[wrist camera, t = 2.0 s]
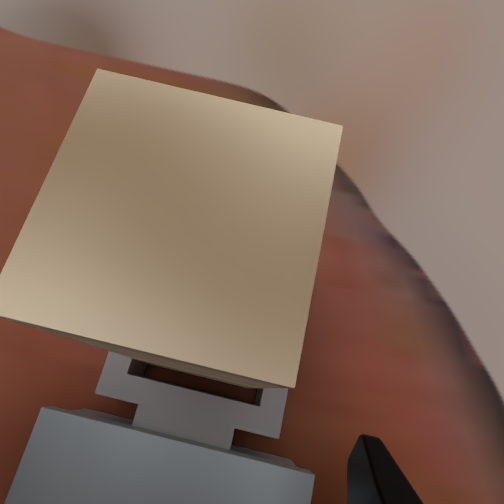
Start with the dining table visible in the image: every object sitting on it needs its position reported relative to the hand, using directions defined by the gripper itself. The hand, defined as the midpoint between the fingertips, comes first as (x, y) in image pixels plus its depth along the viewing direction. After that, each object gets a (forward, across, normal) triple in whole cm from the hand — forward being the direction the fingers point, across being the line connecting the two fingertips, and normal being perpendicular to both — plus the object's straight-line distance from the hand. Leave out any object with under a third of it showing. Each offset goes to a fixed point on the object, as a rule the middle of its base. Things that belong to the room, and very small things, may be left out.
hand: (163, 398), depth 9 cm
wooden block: (+10, 0, +6) cm, 11 cm away
